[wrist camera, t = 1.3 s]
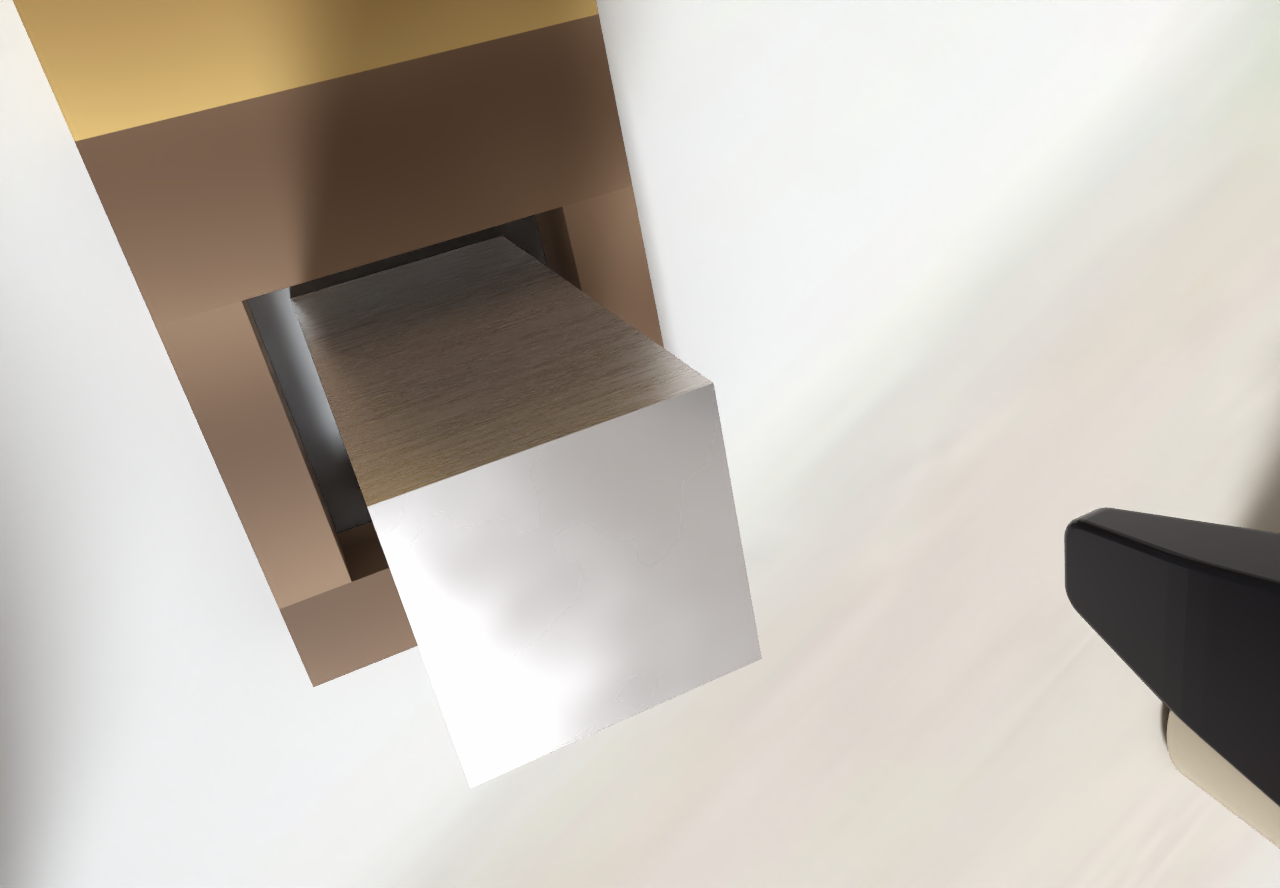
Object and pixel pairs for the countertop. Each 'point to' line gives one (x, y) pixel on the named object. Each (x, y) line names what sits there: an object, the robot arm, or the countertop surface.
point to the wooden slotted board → (331, 210)
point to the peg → (534, 496)
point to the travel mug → (1221, 780)
